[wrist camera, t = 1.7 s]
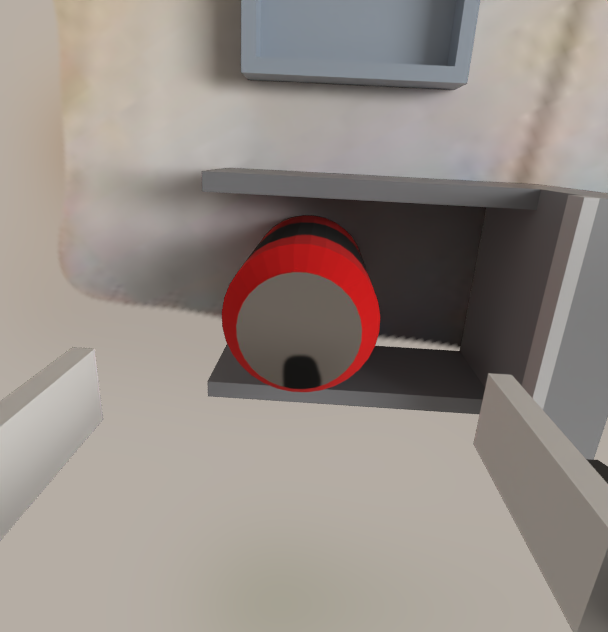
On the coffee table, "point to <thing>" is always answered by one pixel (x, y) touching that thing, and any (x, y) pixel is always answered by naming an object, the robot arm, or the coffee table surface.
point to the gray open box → (477, 302)
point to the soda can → (302, 307)
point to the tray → (359, 41)
